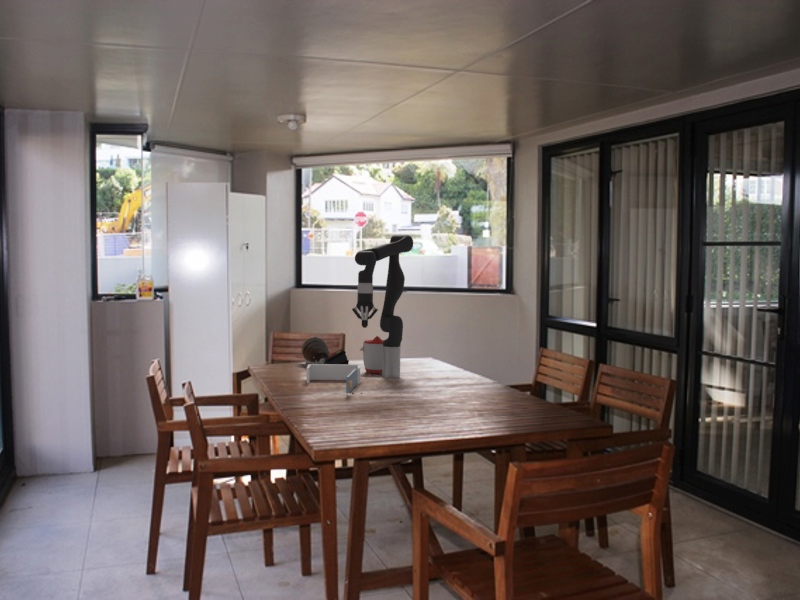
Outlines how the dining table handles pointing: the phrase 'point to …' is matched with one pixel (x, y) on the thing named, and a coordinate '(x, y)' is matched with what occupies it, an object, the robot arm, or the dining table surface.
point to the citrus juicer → (373, 355)
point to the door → (351, 380)
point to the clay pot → (315, 351)
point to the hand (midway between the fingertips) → (364, 327)
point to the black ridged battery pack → (337, 358)
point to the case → (331, 372)
